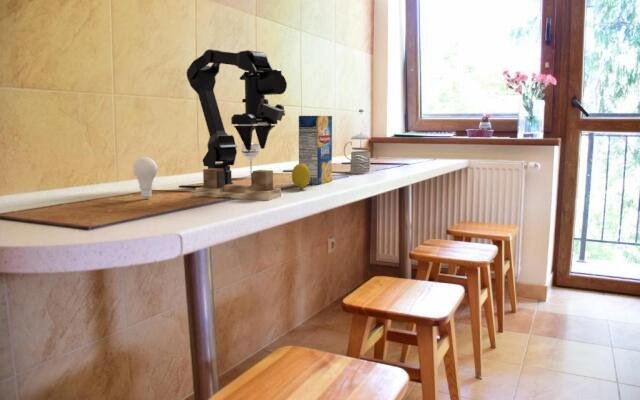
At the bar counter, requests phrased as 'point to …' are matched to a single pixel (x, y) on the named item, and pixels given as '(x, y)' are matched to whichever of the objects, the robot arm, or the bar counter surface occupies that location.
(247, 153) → the wineglass
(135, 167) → the lightbulb
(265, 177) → the beige cardboard cube
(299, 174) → the lemon
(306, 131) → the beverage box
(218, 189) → the rail
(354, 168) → the french press
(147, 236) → the bar counter surface
